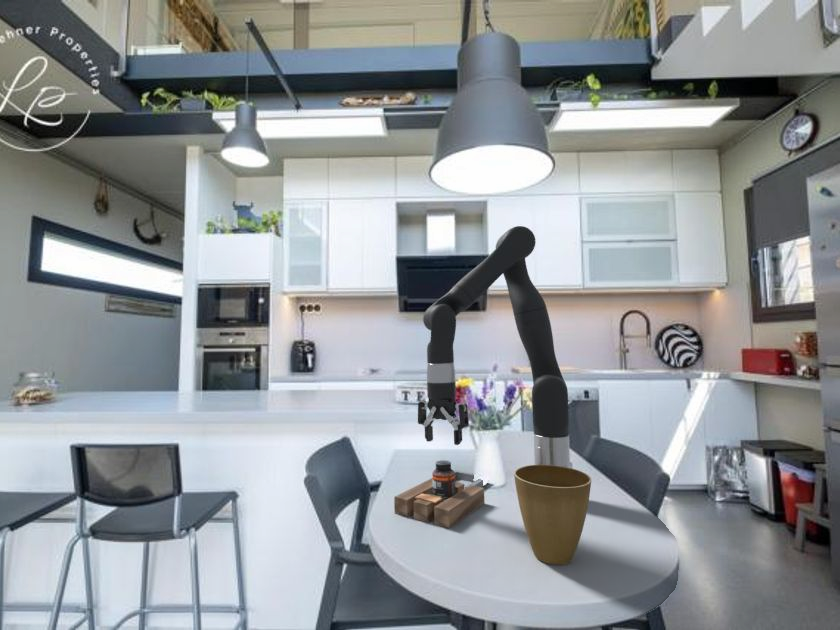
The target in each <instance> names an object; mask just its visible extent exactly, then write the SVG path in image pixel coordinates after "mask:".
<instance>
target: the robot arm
mask: <svg viewBox="0 0 840 630" xmlns="http://www.w3.org/2000/svg"><path fill="white" fill-rule="evenodd" d="M536 242H537V241H536V237H535V234H534V233H533V231H532V230H531V229H530V228H529V227H526V226H523V225H518V226H513V227H512V228H509V229H508V230H506V232H504V233H503V234H502V235H501V236H500V237H499V238H498V240H497V241H496V244H495V249H494V250H493V251H492V252H491V253H490V254H489V255H488V256H487V257H486V258H484V260H483V261H481V262H480V263H479V264H478V265H476V267H474V268H473V269H472V270H470V271H469V272H468V273H467V274H466V275H464V276H463V277H462V278H461V279H460V280H459V281H458V282H457V283H456V284H454V285H453V286H452V288H451V289H450V290H449V291H448V292H446V293H445V294H444V295H443V296H441V297H440V298H439V299H438V300H436V301H435V302H434V303H432V305H430V306H429V307H428V308H427V309H426V310H425V312H424V314H423V319H422V322H423V324H424V326H425V328H426V329H428V331H430V341H428V343H427V348H426V356H427V357H426V360H427V361H426V362H427V366H426V387H427V388H426V391H427V398H428V401H426V400H422V401H419V402H418V403H417V423H418V425H422V426H423V428H424V438H425V440H426V442H429V443H430V442H432V441H433V440H434V432H433V424H434V421H436V420H442V421H448V423H449V424H450V425H451V426H452V427H453V429H454V430H453V444H454V445H456V446H458V445H461V442H463V429H464V428H467V427H469V425H470V423H469V413H468V404H467V403H465V402H464V403H459V404H458V403H457V401H456V397H457V391H456V390H457V386H456V385H457V384H456V369H455V363H454V362H455V361H454V360H455V359H454V342H455V339H456V338H455V337H456V329H457V318H456V317H457V316H459V314H460V313H462V312H464V311H466V310H467V309H469V308H470V307H471V306H472V305H473V304H474V303H476V301H477V300H479V299H480V297H482V295H483V294H484V293H485V292H487V290H489V288H490V287H491V286H492V285H493V284H494V283H495V282H496V281H497V280H498V279H499V278H500V277H501V276H502V275H503V276H504V277H503V278H504V279H505V283H506V287H507V292H508V295H509V300H510V304H511V308H512V312H513V316H514V321H515V325H516V330H517V333H518V336H519V338H520V342H521V344H522V346H523V348H524V350H525V353H526V354H527V357H528V361H529V365H530V368H531V369H530V371H531V375H532V384H533V385H532V389H531V409H532V411H531V412H532V414H531V415H532V425H533V449H534V450H533V453H534V455H533V457H534V461H533V462H534V465H555V466H562V467H568V468H572V469H574V468H573V462H571V453H570V450H571V449H570V421H569V419H570V418H569V417H570V416H569V392H568V386H567V384H566V382H565V379H564V377H563V374H562V371H561V369H560V366H559V363H558V360H557V358H556V357H557V356H556V353H555V347H554V338H553V337H554V336H553V329H552V325H551V324H552V323H551V320H550V316H549V313H548V308H547V305H546V302H545V299H544V298H543V296H542V295H541V293H540V292H539V290H538V289H537V288H536V286H535V285H534V283H533V282H532V280H531V278H530V275H529V272H528V266H527V262H526V258H528V257H529V256H530V255H531V254H532V253H533V251H534V249H535V248H536ZM427 410H429V413H427ZM456 411H457V413H458V415H457V413H456ZM427 414H428V415H427Z"/></svg>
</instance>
